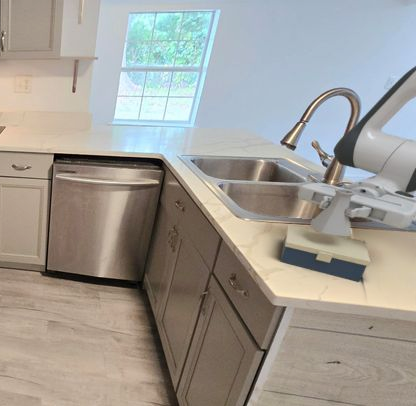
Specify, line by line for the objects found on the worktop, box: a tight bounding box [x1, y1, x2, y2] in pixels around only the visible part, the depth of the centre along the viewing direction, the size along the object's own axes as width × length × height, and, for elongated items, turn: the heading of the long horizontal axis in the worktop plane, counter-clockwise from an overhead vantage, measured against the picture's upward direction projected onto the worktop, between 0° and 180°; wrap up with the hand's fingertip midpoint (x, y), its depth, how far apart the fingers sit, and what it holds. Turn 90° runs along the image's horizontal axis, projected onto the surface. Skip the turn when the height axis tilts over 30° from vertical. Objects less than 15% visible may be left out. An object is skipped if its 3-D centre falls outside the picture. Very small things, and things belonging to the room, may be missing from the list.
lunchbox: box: [280, 224, 371, 283], centre depth 89 cm, size 14×12×6 cm
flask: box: [309, 189, 355, 237], centre depth 85 cm, size 7×7×10 cm
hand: (335, 209), depth 84 cm, fingers closed on flask, 3 cm apart
